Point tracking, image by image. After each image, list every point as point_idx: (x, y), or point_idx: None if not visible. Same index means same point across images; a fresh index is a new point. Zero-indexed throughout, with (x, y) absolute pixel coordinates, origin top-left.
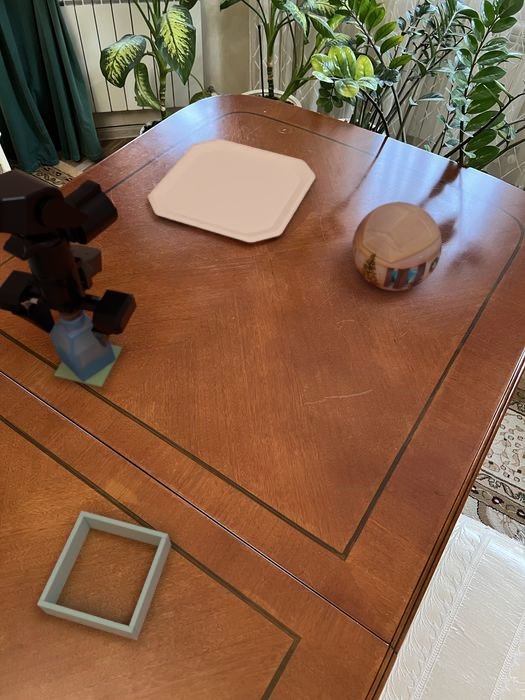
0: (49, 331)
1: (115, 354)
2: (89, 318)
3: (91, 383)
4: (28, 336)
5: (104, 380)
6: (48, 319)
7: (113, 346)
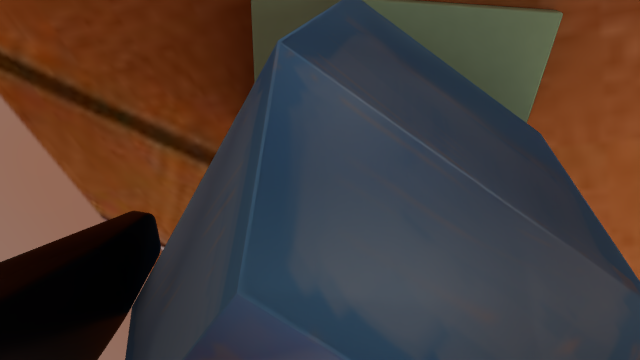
0: (119, 319)
1: (525, 81)
2: (445, 308)
3: None
4: (36, 28)
5: None
6: (20, 355)
7: (501, 21)
